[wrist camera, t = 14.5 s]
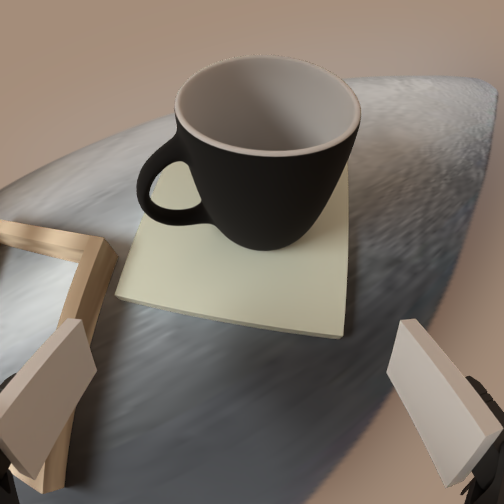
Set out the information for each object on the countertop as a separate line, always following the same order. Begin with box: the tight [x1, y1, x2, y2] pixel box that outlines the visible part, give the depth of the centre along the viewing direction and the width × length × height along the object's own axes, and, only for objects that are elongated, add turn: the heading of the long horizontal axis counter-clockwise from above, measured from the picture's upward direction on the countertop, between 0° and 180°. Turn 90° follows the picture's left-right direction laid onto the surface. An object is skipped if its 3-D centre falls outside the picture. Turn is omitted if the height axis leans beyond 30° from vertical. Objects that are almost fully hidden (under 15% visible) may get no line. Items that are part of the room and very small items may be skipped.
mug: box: [137, 55, 361, 251], centre depth 17 cm, size 12×9×10 cm
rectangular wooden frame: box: [0, 220, 119, 494], centre depth 17 cm, size 15×18×3 cm
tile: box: [115, 160, 349, 339], centre depth 22 cm, size 15×15×1 cm
